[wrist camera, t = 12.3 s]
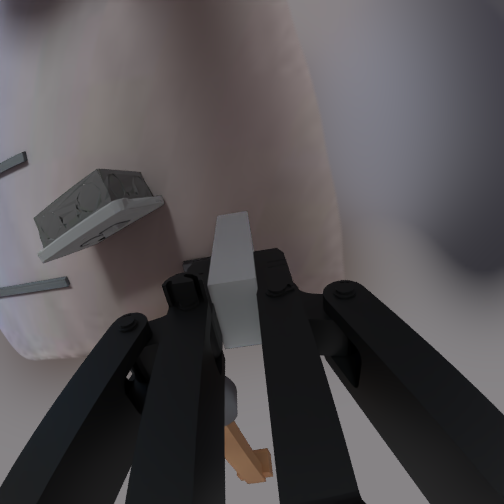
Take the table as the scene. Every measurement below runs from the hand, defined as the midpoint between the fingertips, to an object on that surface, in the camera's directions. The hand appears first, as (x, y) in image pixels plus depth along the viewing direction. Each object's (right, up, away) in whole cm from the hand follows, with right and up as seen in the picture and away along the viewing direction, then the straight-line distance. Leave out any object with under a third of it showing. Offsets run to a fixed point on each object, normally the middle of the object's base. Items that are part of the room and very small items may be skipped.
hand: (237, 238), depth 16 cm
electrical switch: (-13, +4, +12) cm, 18 cm away
